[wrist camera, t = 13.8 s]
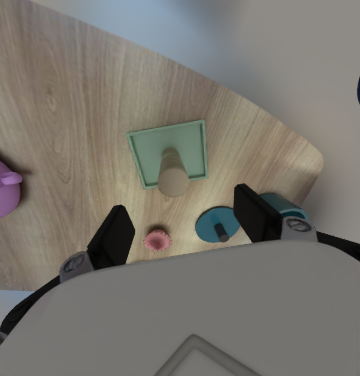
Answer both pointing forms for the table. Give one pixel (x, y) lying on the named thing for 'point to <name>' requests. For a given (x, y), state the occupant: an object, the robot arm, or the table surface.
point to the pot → (284, 206)
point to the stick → (172, 174)
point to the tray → (165, 138)
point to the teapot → (8, 190)
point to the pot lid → (217, 225)
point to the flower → (157, 240)
